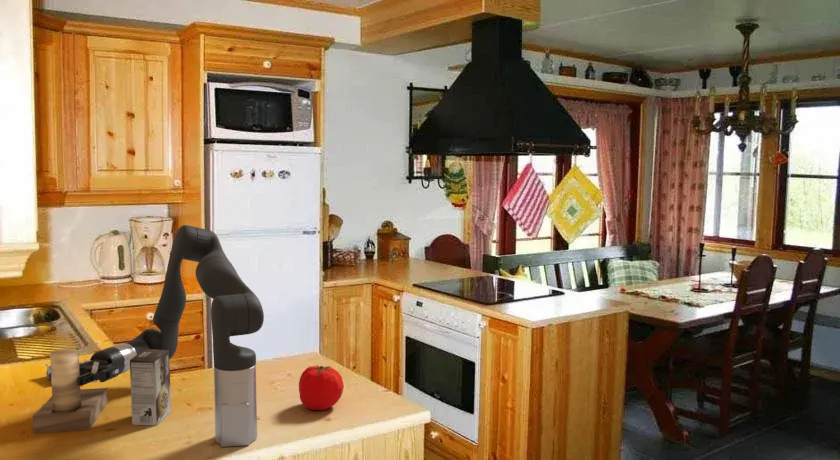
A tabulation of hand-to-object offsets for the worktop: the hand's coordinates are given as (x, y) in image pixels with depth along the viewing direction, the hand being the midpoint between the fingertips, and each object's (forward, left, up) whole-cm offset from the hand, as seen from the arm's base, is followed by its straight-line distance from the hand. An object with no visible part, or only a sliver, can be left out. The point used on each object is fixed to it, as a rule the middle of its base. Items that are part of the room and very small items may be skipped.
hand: (64, 379), depth 165 cm
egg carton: (+37, +11, -11) cm, 40 cm away
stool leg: (0, 0, -10) cm, 11 cm away
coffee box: (+1, -19, -11) cm, 22 cm away
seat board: (+5, 0, -11) cm, 12 cm away
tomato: (+2, -60, -11) cm, 61 cm away
